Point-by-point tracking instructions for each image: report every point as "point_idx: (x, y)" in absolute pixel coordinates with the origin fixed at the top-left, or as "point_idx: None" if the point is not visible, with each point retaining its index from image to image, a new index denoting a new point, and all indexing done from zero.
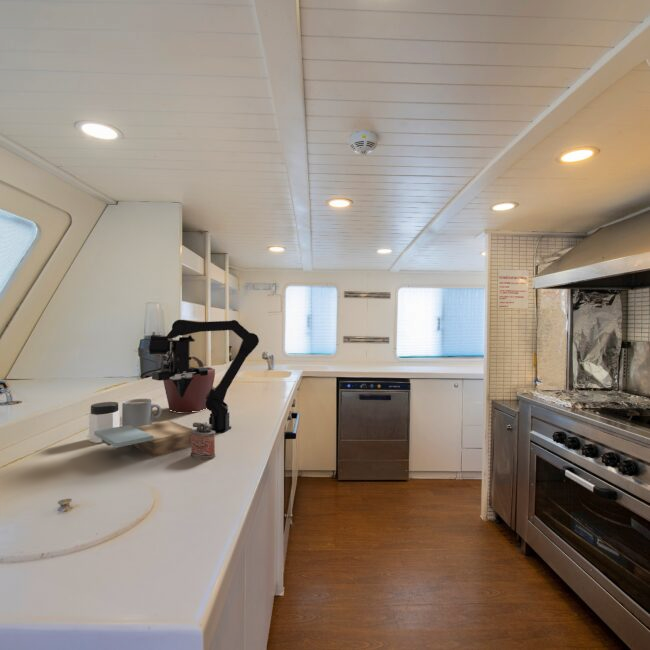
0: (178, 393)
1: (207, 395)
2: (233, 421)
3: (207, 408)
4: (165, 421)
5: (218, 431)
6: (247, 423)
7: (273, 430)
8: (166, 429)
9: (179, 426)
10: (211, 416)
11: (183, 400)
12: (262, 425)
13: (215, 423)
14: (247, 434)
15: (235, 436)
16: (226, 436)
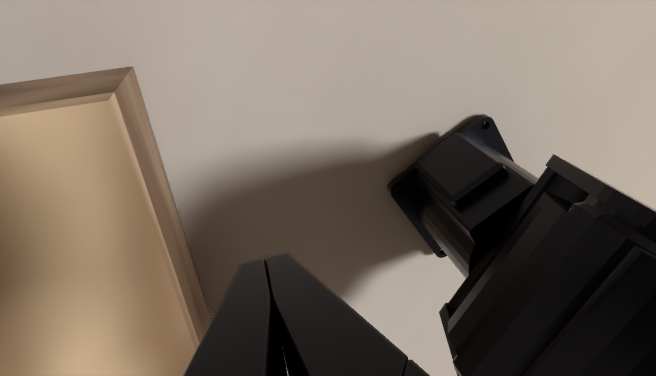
0: (220, 322)
1: (582, 357)
2: (640, 48)
3: (448, 327)
4: (64, 119)
5: (423, 237)
6: (636, 157)
7: None
8: (45, 371)
9: (158, 343)
10: (463, 229)
11: None
12: None
13: (440, 246)
14: None
15: (436, 329)
16: (409, 311)
